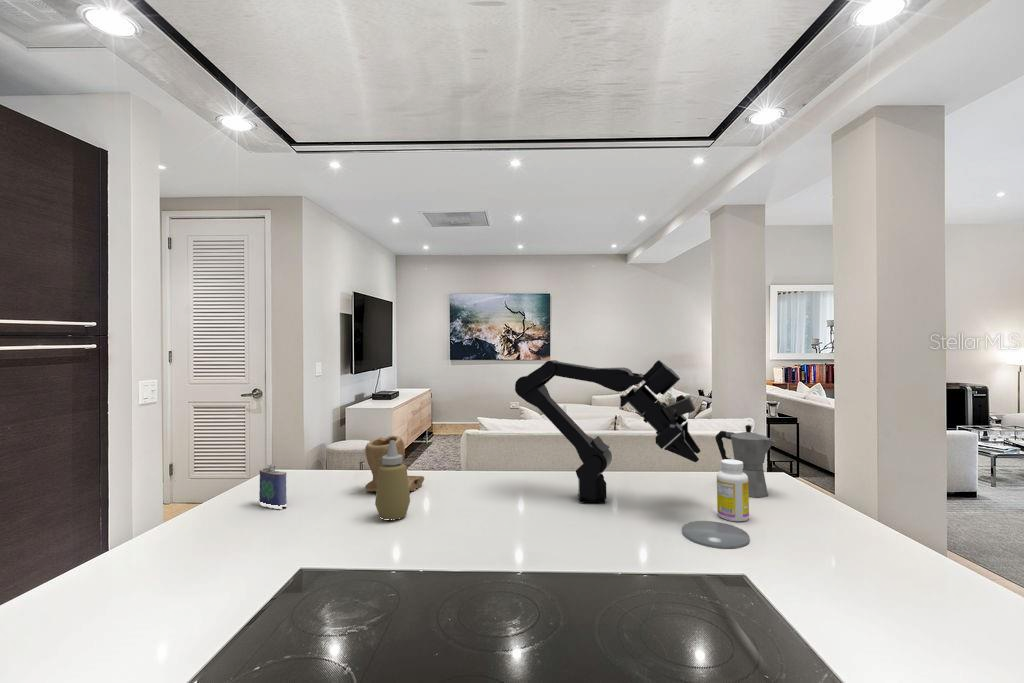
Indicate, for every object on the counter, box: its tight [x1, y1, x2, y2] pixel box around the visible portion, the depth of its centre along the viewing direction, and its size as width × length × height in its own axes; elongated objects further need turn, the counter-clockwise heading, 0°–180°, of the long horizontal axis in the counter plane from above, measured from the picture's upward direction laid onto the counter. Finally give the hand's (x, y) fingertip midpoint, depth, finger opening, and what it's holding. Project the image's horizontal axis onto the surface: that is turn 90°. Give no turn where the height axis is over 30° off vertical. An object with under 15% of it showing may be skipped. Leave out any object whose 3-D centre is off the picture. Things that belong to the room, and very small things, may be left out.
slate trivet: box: [681, 520, 751, 550], centre depth 100 cm, size 13×13×1 cm
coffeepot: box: [714, 424, 777, 499], centre depth 129 cm, size 15×9×18 cm, turn 44°
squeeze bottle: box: [374, 440, 411, 520], centre depth 113 cm, size 8×8×18 cm
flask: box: [258, 463, 288, 506], centre depth 121 cm, size 9×3×11 cm, turn 61°
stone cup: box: [364, 435, 425, 493], centre depth 133 cm, size 15×12×15 cm
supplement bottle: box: [716, 458, 750, 522], centre depth 110 cm, size 7×7×13 cm
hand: (698, 456), depth 113 cm, fingers open, 9 cm apart
